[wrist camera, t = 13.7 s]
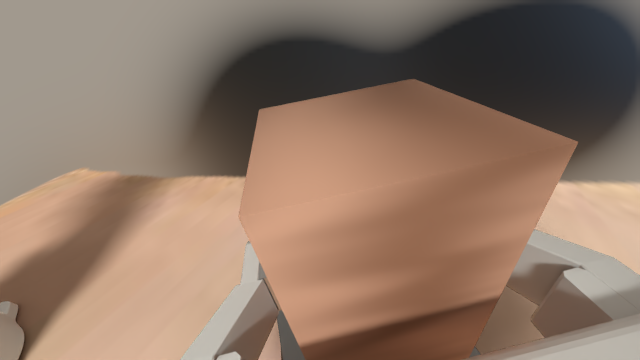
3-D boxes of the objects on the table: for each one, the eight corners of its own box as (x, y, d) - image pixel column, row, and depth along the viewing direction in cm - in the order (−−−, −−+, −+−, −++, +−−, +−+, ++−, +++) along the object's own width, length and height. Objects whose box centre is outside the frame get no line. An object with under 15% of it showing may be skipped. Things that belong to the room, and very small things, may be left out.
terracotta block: (330, 412, 9) (238, 216, 3) (312, 288, 13) (259, 109, 7) (457, 379, 9) (578, 142, 3) (400, 268, 13) (413, 79, 8)
